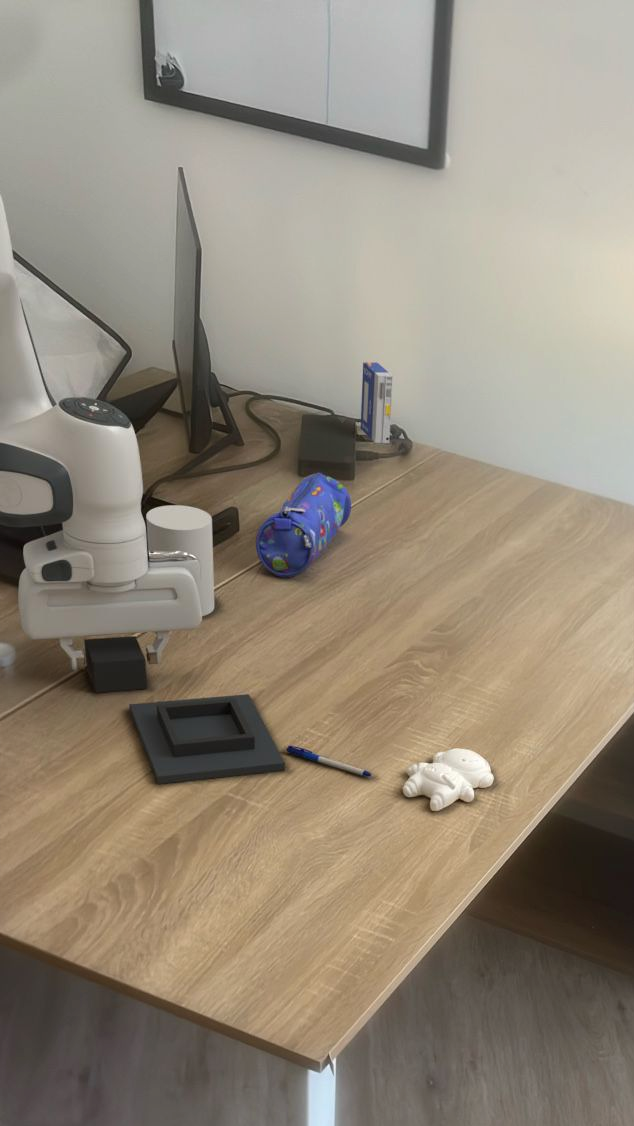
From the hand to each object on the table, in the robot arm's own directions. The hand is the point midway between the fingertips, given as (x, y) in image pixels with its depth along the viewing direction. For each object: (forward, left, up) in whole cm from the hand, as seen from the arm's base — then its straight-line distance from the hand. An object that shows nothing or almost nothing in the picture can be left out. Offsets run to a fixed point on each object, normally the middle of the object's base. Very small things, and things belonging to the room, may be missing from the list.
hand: (116, 665), depth 152 cm
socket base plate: (+7, -16, -2) cm, 17 cm away
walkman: (+61, +84, -2) cm, 104 cm away
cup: (+12, +19, -2) cm, 23 cm away
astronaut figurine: (+31, -30, -2) cm, 43 cm away
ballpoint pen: (+19, -24, -2) cm, 31 cm away
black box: (0, 0, -2) cm, 2 cm away
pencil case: (+33, +34, -2) cm, 48 cm away
